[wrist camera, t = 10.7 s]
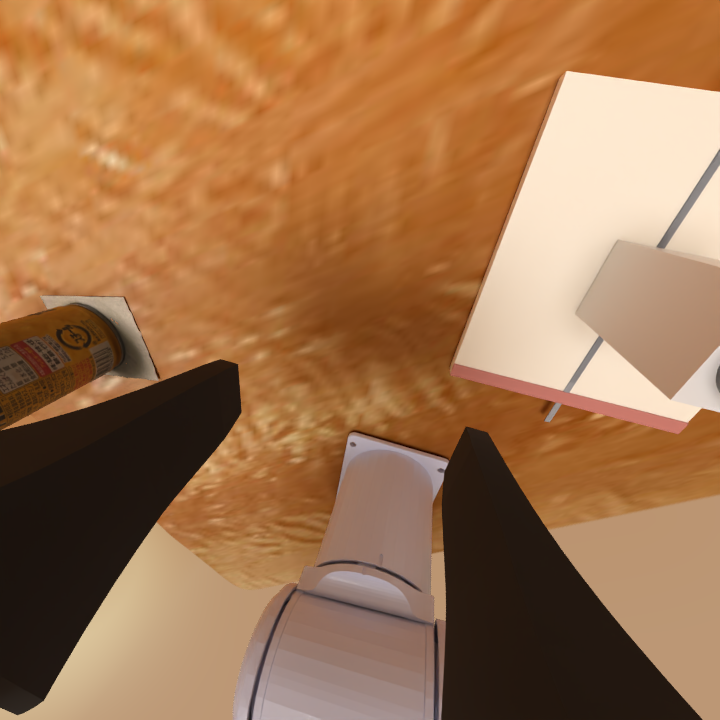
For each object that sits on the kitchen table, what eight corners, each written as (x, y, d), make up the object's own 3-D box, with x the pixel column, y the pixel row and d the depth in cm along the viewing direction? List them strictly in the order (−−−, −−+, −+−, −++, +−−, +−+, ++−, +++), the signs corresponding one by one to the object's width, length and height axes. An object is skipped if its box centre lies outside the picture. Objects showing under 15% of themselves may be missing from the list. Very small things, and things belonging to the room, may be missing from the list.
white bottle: (650, 331, 15) (855, 466, 8) (575, 313, 15) (700, 426, 8) (706, 256, 13) (1048, 342, 6) (618, 239, 13) (831, 297, 6)
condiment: (42, 295, 24) (-242, 369, 14) (125, 296, 23) (-134, 383, 12) (86, 371, 28) (-117, 475, 18) (161, 378, 26) (-17, 499, 16)
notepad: (651, 441, 19) (660, 452, 18) (442, 386, 20) (442, 393, 19) (996, 75, 10) (1043, 65, 9) (579, 24, 11) (590, 12, 10)
